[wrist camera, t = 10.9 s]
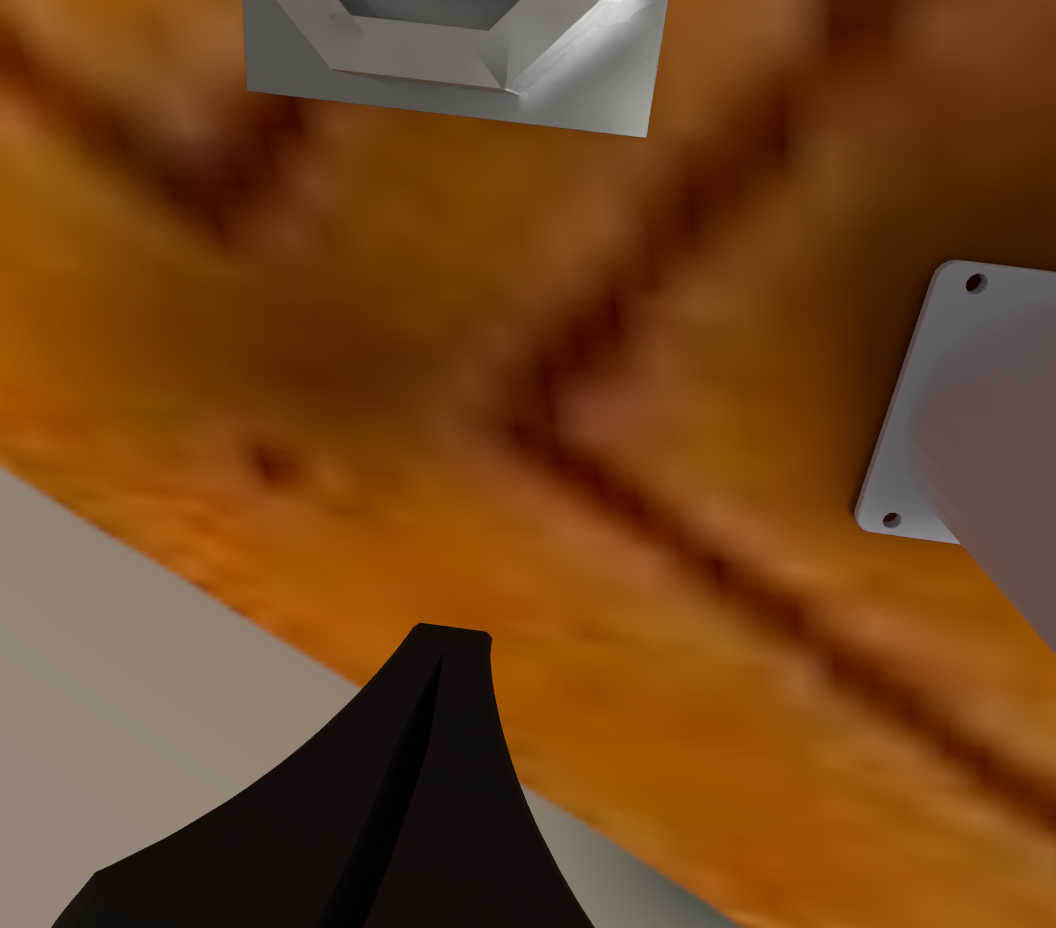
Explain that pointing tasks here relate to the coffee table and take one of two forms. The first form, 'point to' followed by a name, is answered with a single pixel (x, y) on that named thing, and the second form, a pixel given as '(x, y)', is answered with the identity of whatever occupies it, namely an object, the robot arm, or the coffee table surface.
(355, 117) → the coffee table surface
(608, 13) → the mount
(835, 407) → the coffee table surface
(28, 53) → the coffee table surface
